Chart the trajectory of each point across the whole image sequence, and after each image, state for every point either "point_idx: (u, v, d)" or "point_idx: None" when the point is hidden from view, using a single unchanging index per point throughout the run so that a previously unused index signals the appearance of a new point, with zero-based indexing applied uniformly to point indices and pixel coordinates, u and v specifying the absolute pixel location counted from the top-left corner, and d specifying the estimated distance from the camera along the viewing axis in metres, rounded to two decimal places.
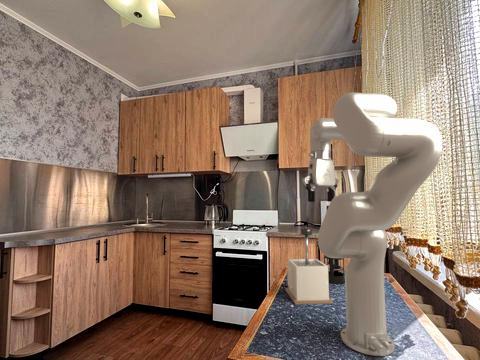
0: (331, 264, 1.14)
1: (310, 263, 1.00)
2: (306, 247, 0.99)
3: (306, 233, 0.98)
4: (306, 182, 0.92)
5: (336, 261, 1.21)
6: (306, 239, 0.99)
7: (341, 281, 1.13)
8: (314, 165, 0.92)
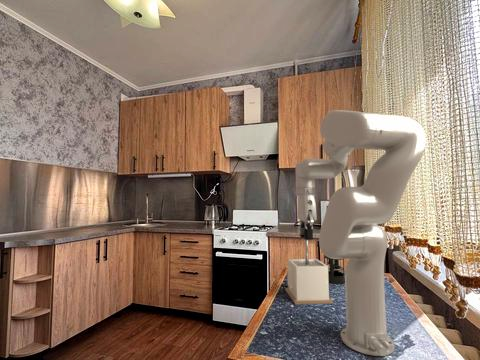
0: (331, 264, 1.14)
1: (310, 263, 1.00)
2: (306, 247, 0.99)
3: None
4: None
5: (336, 261, 1.21)
6: None
7: (341, 281, 1.13)
8: (313, 202, 0.97)
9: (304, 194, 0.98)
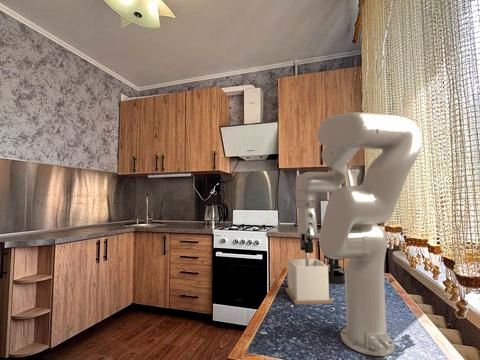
0: (331, 264, 1.14)
1: None
2: (306, 260, 0.99)
3: None
4: None
5: (336, 261, 1.21)
6: None
7: (341, 281, 1.13)
8: (314, 215, 0.96)
9: (304, 207, 0.97)
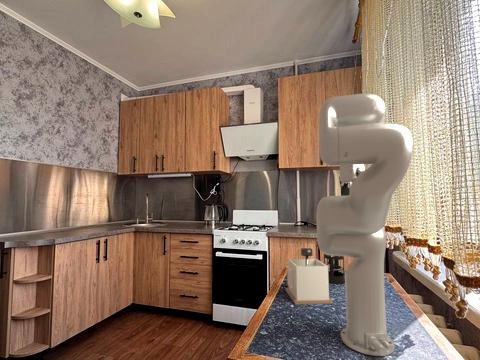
0: (331, 264, 1.14)
1: None
2: None
3: (306, 254, 0.97)
4: None
5: (336, 261, 1.21)
6: (306, 260, 0.99)
7: (341, 281, 1.13)
8: None
9: None
